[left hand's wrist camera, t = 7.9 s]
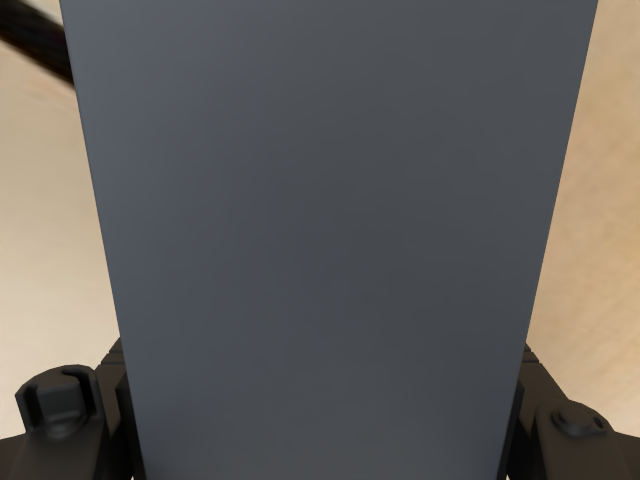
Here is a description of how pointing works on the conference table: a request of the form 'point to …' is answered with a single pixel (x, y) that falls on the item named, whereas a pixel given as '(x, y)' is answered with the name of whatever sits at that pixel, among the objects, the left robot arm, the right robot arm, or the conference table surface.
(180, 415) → the bar
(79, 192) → the conference table surface
